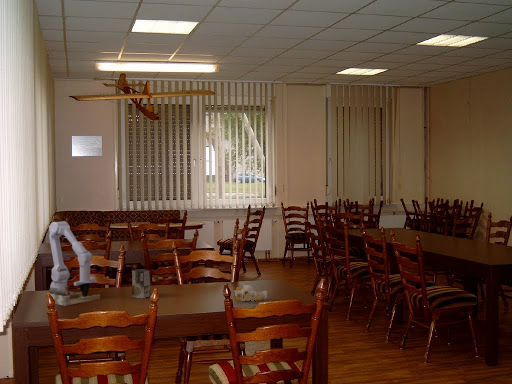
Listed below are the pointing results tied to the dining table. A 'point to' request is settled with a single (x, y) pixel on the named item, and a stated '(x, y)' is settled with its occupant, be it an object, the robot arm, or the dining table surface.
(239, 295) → the figure
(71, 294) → the beige square tray
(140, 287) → the coffee box
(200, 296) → the dining table surface
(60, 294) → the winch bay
